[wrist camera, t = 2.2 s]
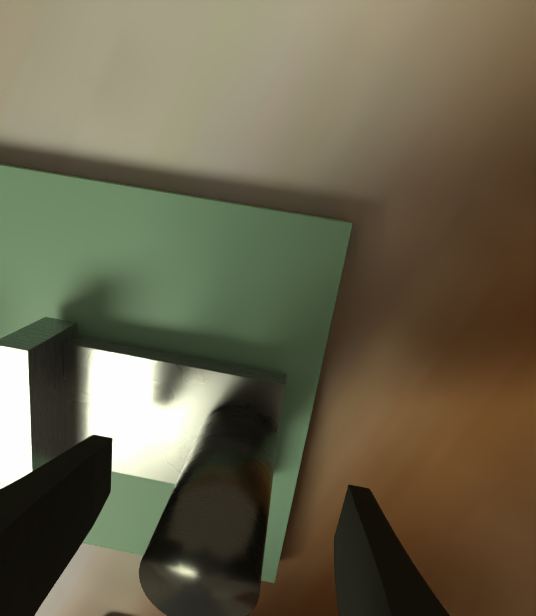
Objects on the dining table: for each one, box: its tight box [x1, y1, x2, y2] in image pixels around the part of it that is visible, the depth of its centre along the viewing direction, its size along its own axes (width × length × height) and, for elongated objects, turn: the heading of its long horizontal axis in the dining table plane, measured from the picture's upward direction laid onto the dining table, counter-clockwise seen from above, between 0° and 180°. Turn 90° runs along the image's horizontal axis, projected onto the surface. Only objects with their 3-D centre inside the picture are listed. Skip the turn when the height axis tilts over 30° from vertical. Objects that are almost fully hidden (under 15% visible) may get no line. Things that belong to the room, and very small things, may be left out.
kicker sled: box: [0, 317, 287, 616], centre depth 12 cm, size 9×6×6 cm, turn 81°
